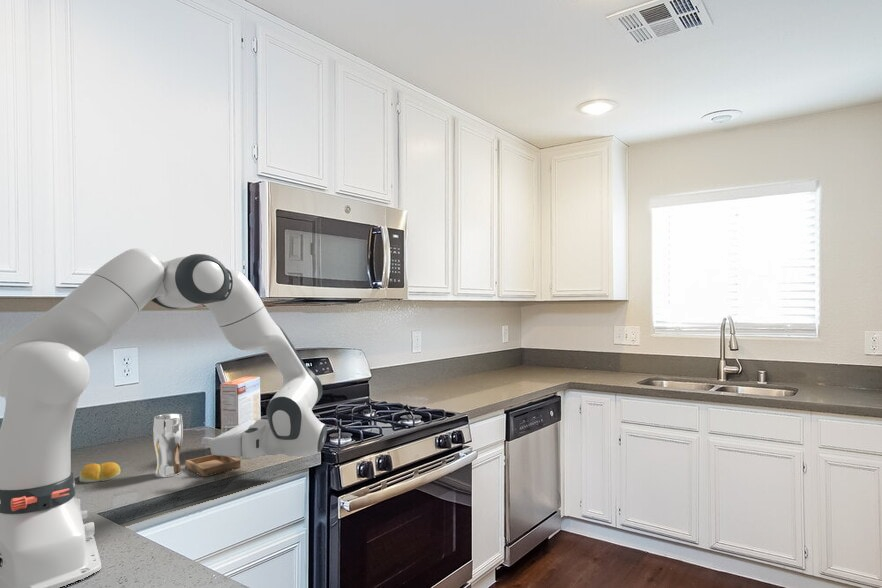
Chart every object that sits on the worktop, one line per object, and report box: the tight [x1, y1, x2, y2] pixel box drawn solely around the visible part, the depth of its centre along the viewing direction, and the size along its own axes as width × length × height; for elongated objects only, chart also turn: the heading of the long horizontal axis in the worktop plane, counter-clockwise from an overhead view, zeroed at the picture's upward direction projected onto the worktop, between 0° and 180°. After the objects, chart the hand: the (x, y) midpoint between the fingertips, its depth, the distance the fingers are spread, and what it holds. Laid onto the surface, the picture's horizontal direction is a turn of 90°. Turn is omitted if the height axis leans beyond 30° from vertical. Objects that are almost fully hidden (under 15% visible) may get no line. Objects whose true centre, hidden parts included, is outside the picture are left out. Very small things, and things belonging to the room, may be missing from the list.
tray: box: [184, 453, 242, 477], centre depth 151 cm, size 11×10×2 cm
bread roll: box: [79, 461, 121, 484], centre depth 144 cm, size 8×9×4 cm
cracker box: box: [219, 376, 262, 430], centre depth 168 cm, size 14×6×21 cm, turn 171°
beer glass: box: [152, 413, 184, 478], centre depth 146 cm, size 7×7×15 cm
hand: (212, 435), depth 145 cm, fingers open, 8 cm apart
